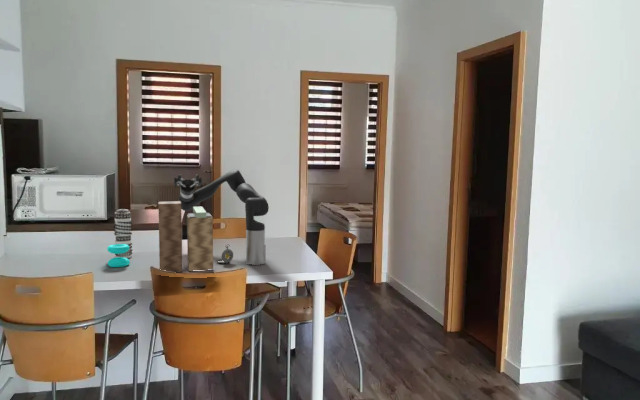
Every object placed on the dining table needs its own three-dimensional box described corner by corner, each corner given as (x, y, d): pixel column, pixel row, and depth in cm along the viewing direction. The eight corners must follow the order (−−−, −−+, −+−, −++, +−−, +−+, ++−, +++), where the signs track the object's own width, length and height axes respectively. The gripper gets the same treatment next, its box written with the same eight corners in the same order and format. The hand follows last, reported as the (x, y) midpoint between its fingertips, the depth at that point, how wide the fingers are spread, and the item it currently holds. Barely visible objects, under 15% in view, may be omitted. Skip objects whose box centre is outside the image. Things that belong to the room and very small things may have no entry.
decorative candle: (137, 255, 264) (136, 209, 262) (123, 259, 256) (122, 211, 254) (124, 254, 268) (123, 208, 266) (110, 257, 260) (109, 209, 257)
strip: (202, 211, 250) (202, 206, 250) (206, 217, 227) (206, 212, 227) (193, 211, 249) (192, 206, 248) (196, 217, 226) (196, 212, 226)
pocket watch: (219, 261, 255) (219, 241, 254) (235, 262, 254) (235, 242, 253) (213, 264, 247) (213, 244, 246) (229, 265, 246) (229, 245, 245)
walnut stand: (181, 266, 242) (180, 201, 239) (182, 271, 233) (181, 203, 230) (159, 267, 239) (158, 201, 236) (159, 272, 230) (158, 203, 227)
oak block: (210, 264, 247) (210, 212, 244) (213, 270, 235) (212, 216, 233) (187, 266, 243) (187, 213, 241) (189, 272, 232) (188, 216, 229)
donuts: (105, 244, 244) (127, 242, 249) (106, 264, 245) (128, 262, 250) (108, 248, 235) (130, 246, 240) (109, 268, 236) (131, 266, 241)
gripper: (201, 195, 274) (202, 182, 259) (174, 195, 269) (174, 182, 255) (200, 183, 276) (202, 169, 262) (173, 183, 272) (174, 169, 258)
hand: (188, 176), depth 259 cm, fingers open, 8 cm apart
